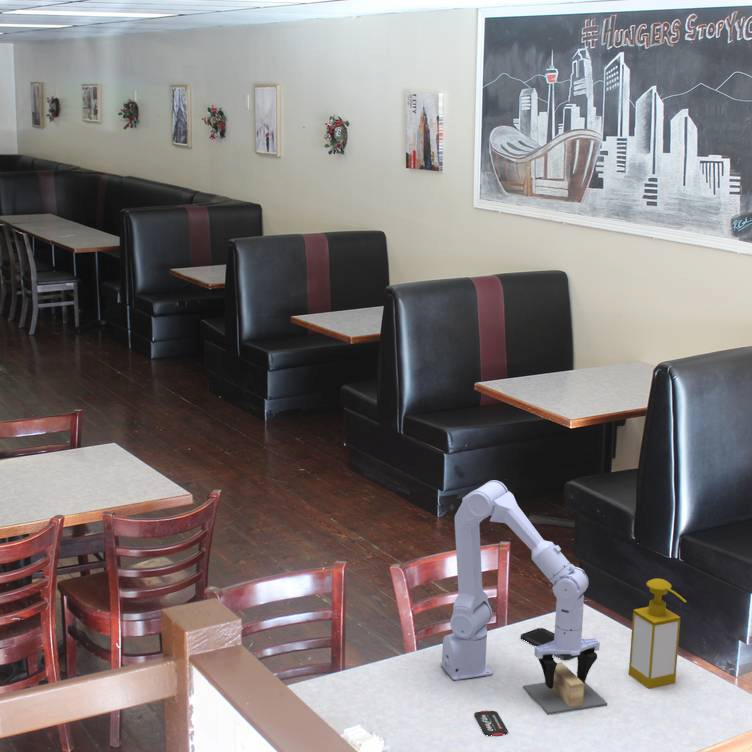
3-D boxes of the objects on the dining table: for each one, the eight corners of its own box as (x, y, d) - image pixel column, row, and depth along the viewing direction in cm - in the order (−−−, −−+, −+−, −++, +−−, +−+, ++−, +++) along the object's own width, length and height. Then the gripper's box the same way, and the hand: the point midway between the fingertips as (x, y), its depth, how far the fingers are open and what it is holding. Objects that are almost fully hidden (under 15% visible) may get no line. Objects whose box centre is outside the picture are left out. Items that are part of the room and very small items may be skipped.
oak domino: (548, 685, 240) (549, 664, 239) (560, 683, 241) (561, 662, 240) (570, 707, 231) (571, 685, 230) (582, 705, 232) (584, 683, 230)
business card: (509, 733, 220) (485, 735, 219) (509, 736, 220) (485, 738, 219) (495, 709, 229) (472, 711, 228) (495, 712, 229) (472, 714, 228)
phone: (541, 627, 268) (587, 649, 257) (541, 631, 268) (587, 654, 257) (518, 635, 264) (564, 658, 252) (518, 639, 264) (564, 663, 252)
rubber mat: (547, 714, 228) (548, 712, 228) (522, 687, 240) (522, 685, 239) (607, 705, 233) (607, 703, 233) (579, 679, 244) (579, 677, 244)
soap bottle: (664, 700, 235) (673, 597, 230) (628, 674, 247) (635, 576, 242) (691, 694, 238) (700, 592, 233) (654, 668, 249) (662, 571, 245)
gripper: (546, 637, 227) (543, 697, 230) (608, 629, 231) (604, 688, 234) (531, 623, 233) (528, 681, 236) (591, 615, 238) (588, 673, 241)
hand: (565, 684), depth 236 cm, fingers open, 7 cm apart
